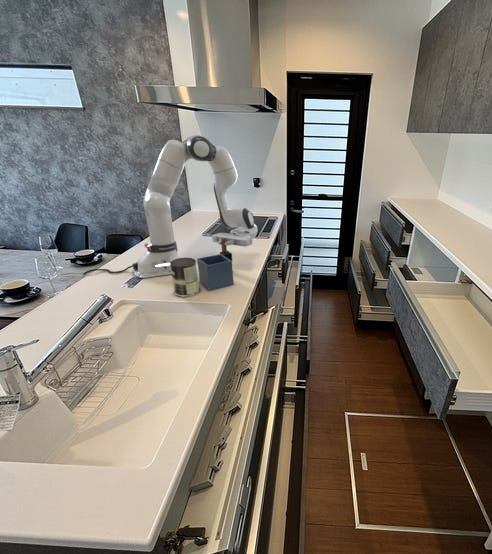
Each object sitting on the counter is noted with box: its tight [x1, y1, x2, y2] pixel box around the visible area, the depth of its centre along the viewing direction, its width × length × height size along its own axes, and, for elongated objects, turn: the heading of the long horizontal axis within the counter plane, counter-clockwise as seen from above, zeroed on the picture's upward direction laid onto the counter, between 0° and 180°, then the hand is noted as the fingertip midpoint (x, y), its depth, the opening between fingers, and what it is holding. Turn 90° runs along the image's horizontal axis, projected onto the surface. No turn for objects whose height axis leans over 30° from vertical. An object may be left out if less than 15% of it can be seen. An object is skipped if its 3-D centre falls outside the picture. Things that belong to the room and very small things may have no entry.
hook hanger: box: [219, 238, 233, 262], centre depth 151 cm, size 6×4×17 cm, turn 38°
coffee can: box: [170, 257, 200, 298], centre depth 130 cm, size 10×10×14 cm
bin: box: [196, 253, 234, 291], centre depth 140 cm, size 12×12×12 cm
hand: (222, 243), depth 149 cm, fingers closed on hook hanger, 2 cm apart
